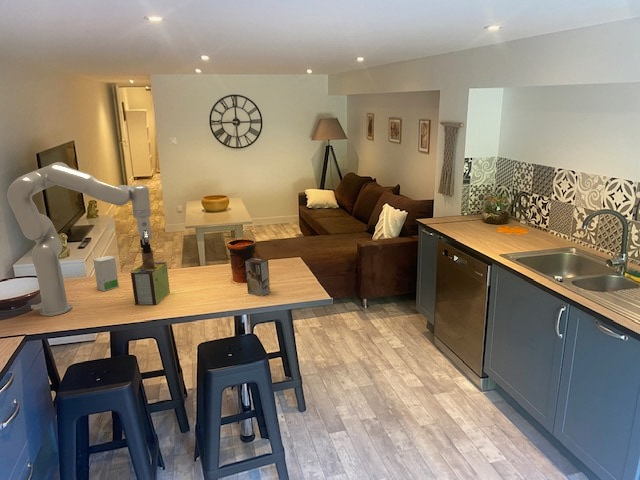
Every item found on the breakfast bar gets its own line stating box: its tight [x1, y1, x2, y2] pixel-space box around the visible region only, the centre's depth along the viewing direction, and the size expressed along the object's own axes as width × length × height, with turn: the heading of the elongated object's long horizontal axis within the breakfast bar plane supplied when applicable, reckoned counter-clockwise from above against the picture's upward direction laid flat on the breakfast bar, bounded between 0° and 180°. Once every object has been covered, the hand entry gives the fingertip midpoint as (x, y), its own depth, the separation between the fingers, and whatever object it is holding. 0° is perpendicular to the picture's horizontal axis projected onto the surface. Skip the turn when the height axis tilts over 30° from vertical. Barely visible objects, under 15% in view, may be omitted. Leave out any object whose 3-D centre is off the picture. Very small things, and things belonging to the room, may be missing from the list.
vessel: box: [226, 238, 257, 285], centre depth 241 cm, size 14×14×20 cm
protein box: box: [130, 261, 171, 306], centre depth 220 cm, size 10×15×16 cm
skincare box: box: [93, 255, 120, 292], centre depth 234 cm, size 8×7×16 cm
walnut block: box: [140, 247, 155, 269], centre depth 217 cm, size 4×4×8 cm
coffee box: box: [245, 257, 271, 297], centre depth 224 cm, size 9×6×16 cm
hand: (145, 250), depth 216 cm, fingers open, 9 cm apart
